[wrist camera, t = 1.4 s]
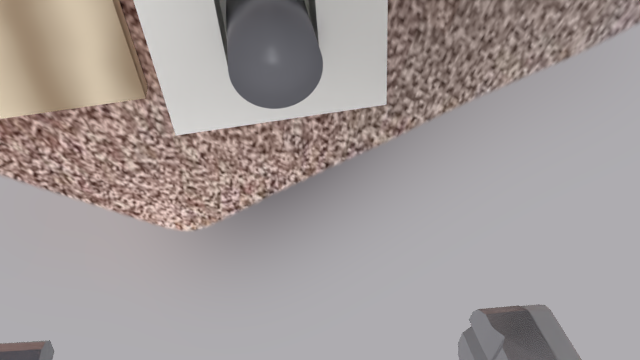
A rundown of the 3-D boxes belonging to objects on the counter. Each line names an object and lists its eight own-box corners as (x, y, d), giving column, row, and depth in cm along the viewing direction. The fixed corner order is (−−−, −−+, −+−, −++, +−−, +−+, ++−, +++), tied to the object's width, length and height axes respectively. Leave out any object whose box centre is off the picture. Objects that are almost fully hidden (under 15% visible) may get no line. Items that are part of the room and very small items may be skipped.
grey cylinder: (300, -37, 32) (319, 17, 26) (307, 38, 35) (326, 101, 30) (218, -27, 32) (219, 30, 26) (233, 48, 35) (237, 114, 29)
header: (367, -113, 31) (388, -91, 27) (369, 68, 39) (386, 104, 35) (127, -85, 30) (114, -58, 26) (179, 94, 38) (175, 135, 34)
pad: (98, -62, 31) (93, -54, 29) (147, 87, 37) (145, 98, 36) (-81, -41, 30) (-92, -32, 29) (2, 107, 36) (-4, 119, 35)
